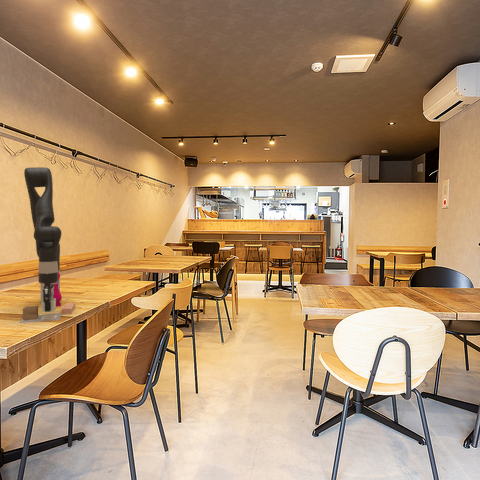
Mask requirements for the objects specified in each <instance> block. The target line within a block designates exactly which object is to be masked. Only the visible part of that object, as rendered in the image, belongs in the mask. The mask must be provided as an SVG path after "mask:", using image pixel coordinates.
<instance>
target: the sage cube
mask: <svg viewBox="0 0 480 480" xmlns="http://www.w3.org/2000/svg"><path fill="white" fill-rule="evenodd" d="M48 299H49V298H48ZM40 305H41V307H40V309H41V312H40V314H41V313H53V312H55V311H56V309H57V307H56V298H51V311H47V312H46V311H45V303H44V302H43V300H42V301H41V300H40Z"/></svg>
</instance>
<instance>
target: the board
mask: <svg viewBox="0 0 480 480" xmlns="http://www.w3.org/2000/svg"><path fill="white" fill-rule="evenodd" d="M62 315H63V314H62V312H59V313H46V314H38V318H37V320H26V321H23V317H22V318H21V319H20V321H19V322H18V324H25V323H27V324H28V323H37V322H48V321H50V322H51V321H58V320H59V321H60V319H61V317H62Z"/></svg>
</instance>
